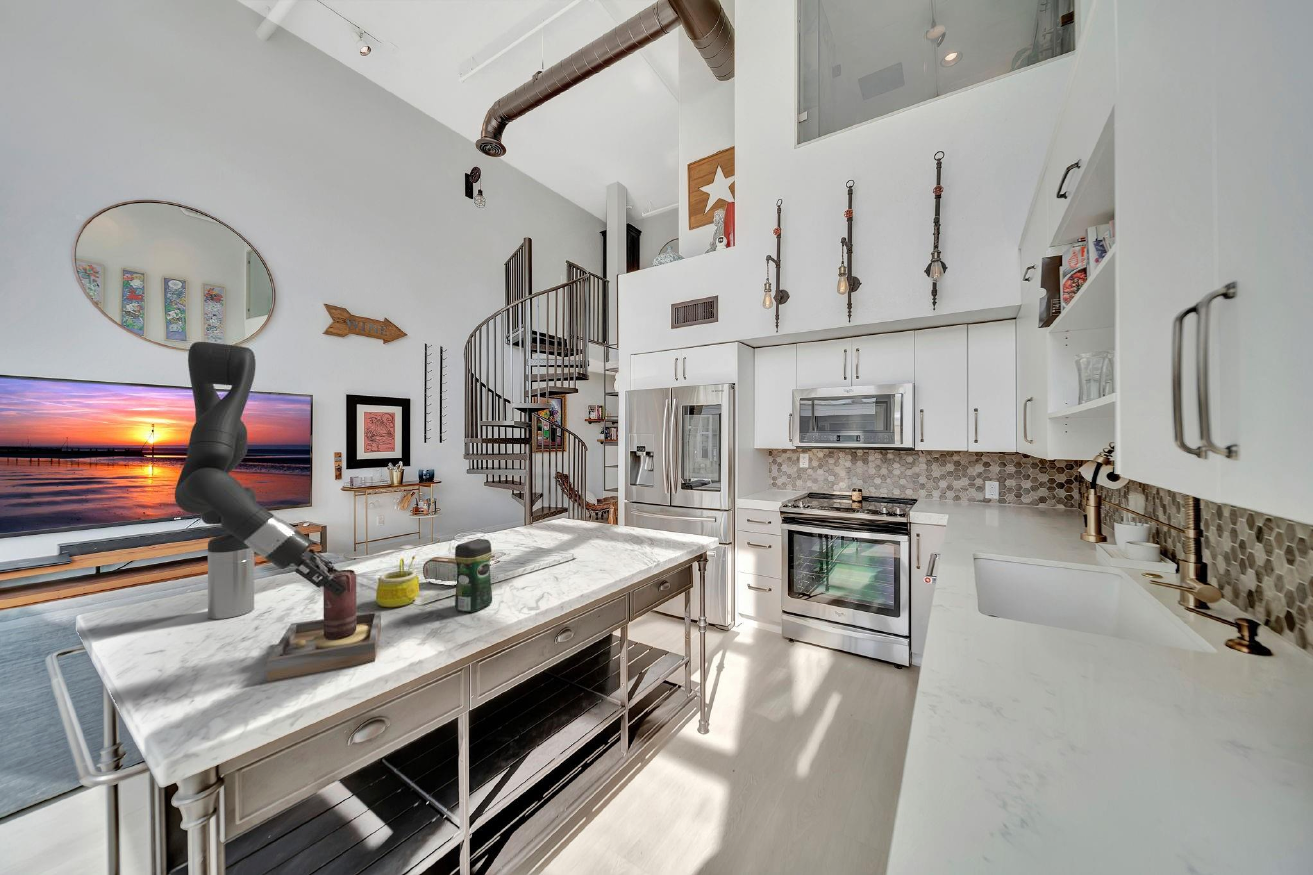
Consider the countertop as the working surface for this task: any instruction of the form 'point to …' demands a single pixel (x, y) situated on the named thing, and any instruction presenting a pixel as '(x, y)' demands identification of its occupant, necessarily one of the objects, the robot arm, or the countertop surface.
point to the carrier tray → (323, 648)
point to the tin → (440, 569)
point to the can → (340, 607)
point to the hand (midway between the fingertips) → (343, 586)
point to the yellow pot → (397, 587)
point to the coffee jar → (473, 575)
